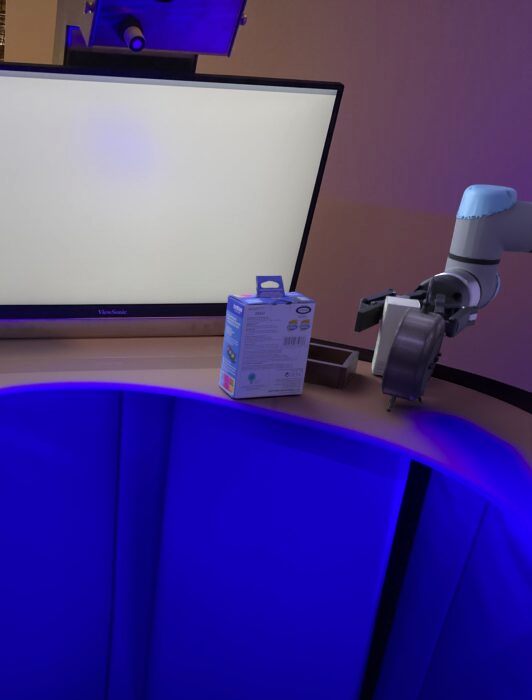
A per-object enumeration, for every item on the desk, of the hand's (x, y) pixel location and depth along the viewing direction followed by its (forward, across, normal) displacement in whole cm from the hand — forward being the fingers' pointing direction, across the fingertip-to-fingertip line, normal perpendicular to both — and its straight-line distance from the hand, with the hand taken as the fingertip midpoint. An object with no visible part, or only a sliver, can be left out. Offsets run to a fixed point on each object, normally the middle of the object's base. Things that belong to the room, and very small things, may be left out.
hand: (383, 327), depth 111 cm
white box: (-5, 0, -8) cm, 9 cm away
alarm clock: (+6, -7, -8) cm, 12 cm away
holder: (+4, +6, -7) cm, 10 cm away
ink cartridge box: (+15, +9, -8) cm, 19 cm away
